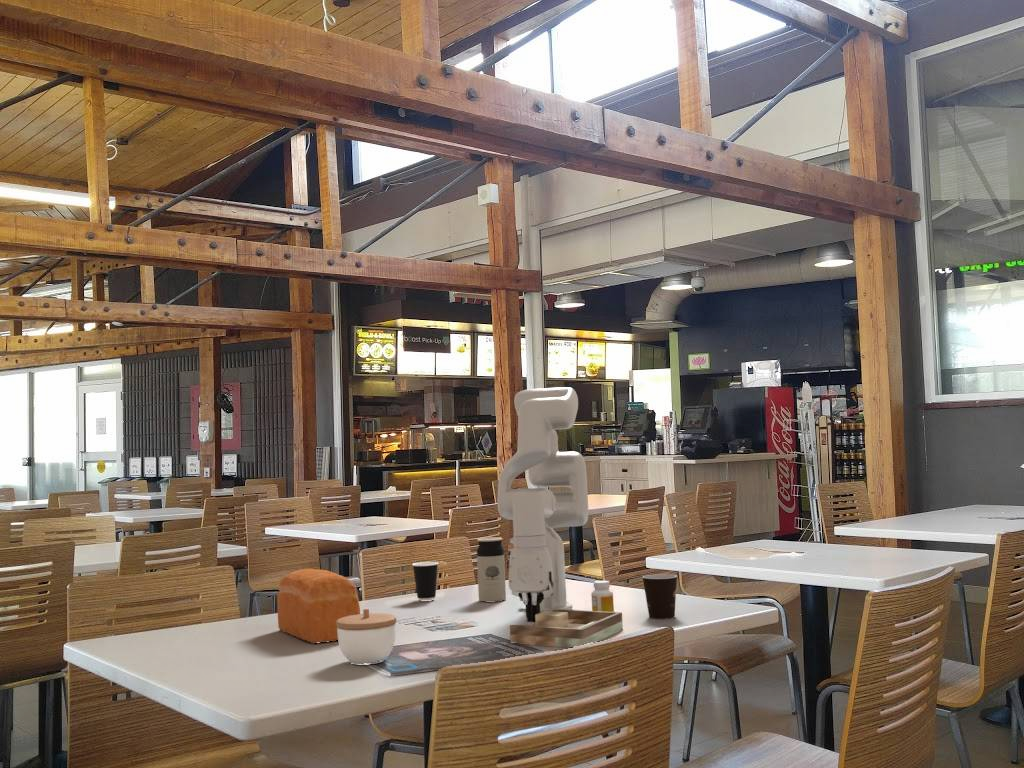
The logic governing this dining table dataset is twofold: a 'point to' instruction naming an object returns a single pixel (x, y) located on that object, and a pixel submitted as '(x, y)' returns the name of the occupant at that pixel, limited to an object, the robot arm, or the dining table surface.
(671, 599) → the coffee mug
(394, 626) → the lidded bowl
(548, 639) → the box
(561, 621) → the maple block
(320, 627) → the bread
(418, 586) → the dixie cup
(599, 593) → the supplement bottle
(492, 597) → the travel mug
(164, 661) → the dining table surface
